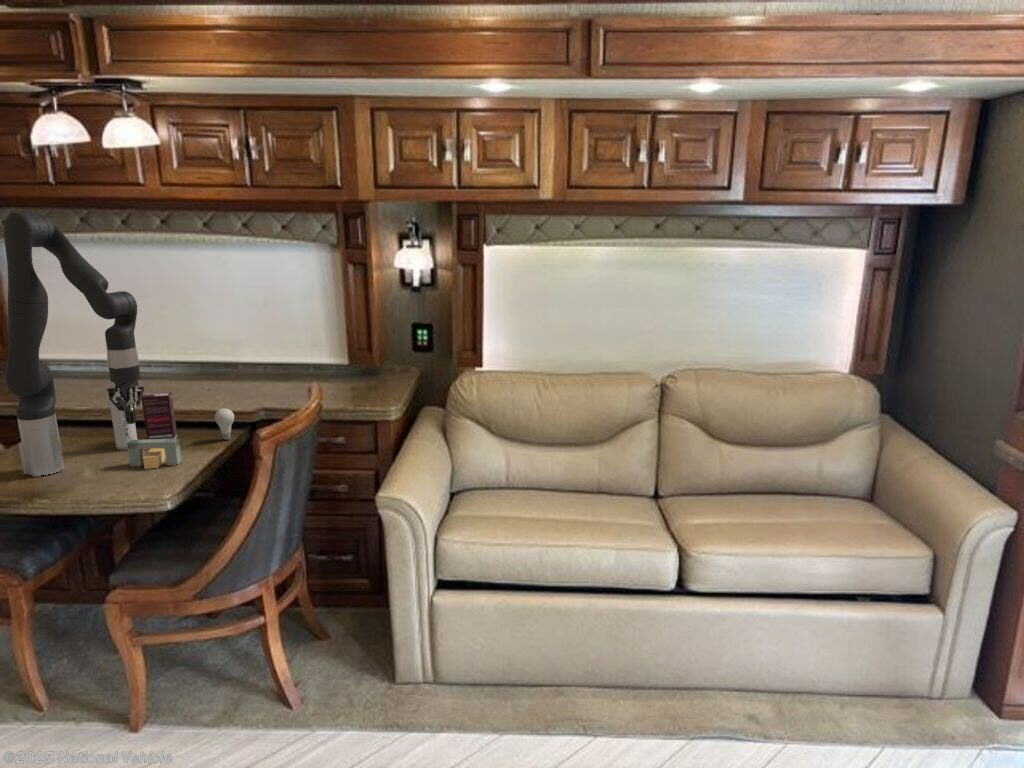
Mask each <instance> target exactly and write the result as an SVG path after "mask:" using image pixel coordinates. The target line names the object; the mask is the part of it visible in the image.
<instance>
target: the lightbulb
mask: <svg viewBox="0 0 1024 768" xmlns="http://www.w3.org/2000/svg"><path fill="white" fill-rule="evenodd" d="M214 421H215V423H216V424H217V425H218V427H219V429H220V433H221V436H222V439H224V440H226V441H228V440H230V439H231V435H232V434H231V432H232V425H233V423H234V421H235V414H234V412H233V411H232V410H231V409H229V408H220V409H218V410H217V411H216V412H215V414H214Z"/></svg>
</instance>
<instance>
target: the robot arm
mask: <svg viewBox="0 0 1024 768" xmlns="http://www.w3.org/2000/svg"><path fill="white" fill-rule="evenodd" d="M3 222H4V223H3V239H4V248H5V255H6V256H5V257H6V265H7V322H8V323H7V324H8V325H7V328H8V329H7V333H8V351H7V359H6V360H7V361H6V362H7V363H6V370H5V378H4V379H5V384H6V387H7V389H8V391H9V392H11V394H13V395H14V396H17V397H18V398H19V401H18V405H17V407H16V410H15V413H16V414H15V415H16V419H17V424H18V430H19V434H20V440H21V442H20V443H19V444H18V449H19V455H20V460H21V465H22V471H23V475H24V474H29V475H32V476H31V477H42V476H41V475H46V476H49V475H48V474H51V475H54V474H53V473H55V474H56V472H58V473H60V472H62V471H63V470H65V461H64V456H63V450H62V444H61V439H60V434H59V425H58V420H57V414H56V411H55V410H56V408H55V407H56V402H57V397H56V389H55V383H54V377H53V372H52V371H51V369H50V368H49V366H48V365H47V364H46V363H45V362H42V361H41V360H40V348H41V343H42V340H43V337H44V333H45V331H46V328H47V324H48V317H49V295H48V292H47V290H46V287H45V286H44V284H43V283H42V281H41V279H40V278H39V276H38V274H37V273H36V271H35V270H36V269H35V268H34V265H33V248H43V249H45V250H46V251H48V252H50V253H51V254H52V255H53V256H55V257H56V259H58V261H59V265H60V268H61V270H62V271H61V272H62V273H63V275H64V277H65V278H66V279H67V280H68V282H70V284H72V285H73V286H74V287H75V288H76V289H77V290H78V291H79V292H80V293H82V294H83V296H84V298H85V299H86V301H87V302H88V304H89V306H90V307H91V309H92V311H93V312H94V313H95V314H96V315H97V316H98V317H100V318H102V319H105V320H114V322H113V324H112V325H111V326H110V327H108V328H107V329H106V330H105V332H104V336H105V343H106V345H105V346H106V351H107V352H106V353H107V354H106V359H107V365H108V366H107V367H108V372H109V373H108V374H109V380H110V382H111V383H113V384H114V388H115V392H116V393H115V395H114V397H109V398H110V400H111V402H112V403H113V404H114V405H115V406H116V408H117V409H118V410H119V411H124V412H125V417H126V423H127V424H134V423H135V424H136V423H137V420H138V419H137V412H136V410H138V407H140V405H141V404H142V396H143V395H144V392H145V387H144V386H142V385H141V386H140V385H139V382H138V381H139V380H140V379H141V378H142V377H141V368H140V367H141V366H140V360H139V353H138V351H137V346H136V337H135V328H136V323H137V315H138V303H137V300H136V298H135V297H134V295H132V293H130V292H129V291H126V290H120V291H114V292H108V289H109V281H108V279H107V278H106V277H105V276H104V275H103V274H102V273H100V271H98V270H97V269H96V268H95V267H94V266H93V265H91V263H89V262H88V261H87V260H86V259H85V258H84V257H83V256H82V255H81V253H79V251H78V250H77V248H75V246H74V245H73V244H72V243H71V241H70V240H69V239H68V238H67V237H66V235H65V234H64V232H62V230H61V228H59V226H58V224H56V223H55V222H54V221H53V219H51V217H49V216H47V215H45V214H42V213H36V212H21V211H15V212H10V213H9V214H8V215H7V216H6V217H5V220H4V221H3ZM61 470H62V471H61ZM59 471H60V472H59ZM29 475H28V476H29Z"/></svg>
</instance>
